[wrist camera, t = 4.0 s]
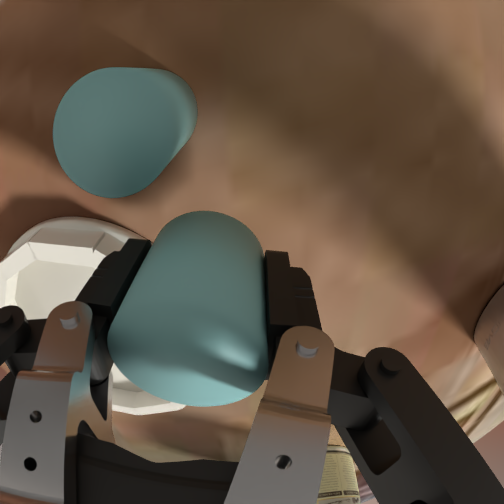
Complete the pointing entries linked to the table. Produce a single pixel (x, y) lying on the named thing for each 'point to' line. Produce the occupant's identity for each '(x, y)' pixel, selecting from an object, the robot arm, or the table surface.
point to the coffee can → (338, 478)
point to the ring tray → (69, 284)
